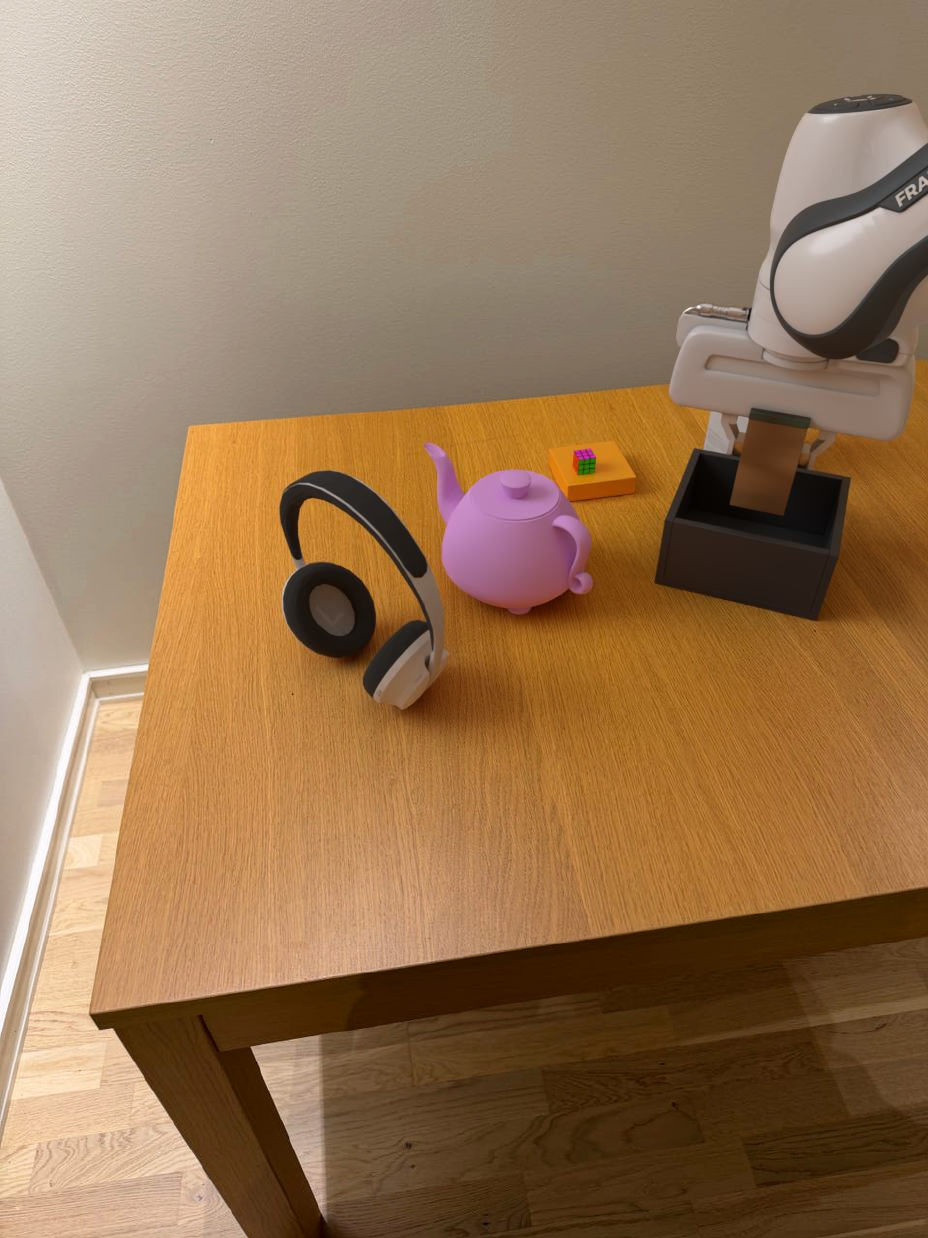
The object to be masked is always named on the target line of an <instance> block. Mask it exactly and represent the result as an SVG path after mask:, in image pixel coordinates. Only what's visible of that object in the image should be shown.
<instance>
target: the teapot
mask: <svg viewBox="0 0 928 1238" xmlns="http://www.w3.org/2000/svg"><path fill="white" fill-rule="evenodd" d="M423 447H424V449H425V450H426V451H425V452H427V453H428V455H429V456H430V458H431V459H432V461H433V463H434V466H435V471H436V475H437V478H436V479H437V489H436V490H437V491H436V492H437V493H436V494H437V495H436V497H437V499H436V500H437V509H438V510H439V514H440V516H441V518H442V520H443V522H444V524H445V525H446V527H445V530H444V533H443V537H442V538H443V539H442V544H441V562H442V566H443V568H444V571H445V573H446V575H447V576H448V578H449V579H450V581H451V582H452V583H453V584H454V585H455V586H456V587H457V588H459V589H460V590H462V591H463V592H464V593H466V594H467V595H469V596H470V597H472V598H473V599H475V600H477V601H479V602H482V603H484V604H487V605H490V606H493V607H497V608H504V609H507V610H508V612H510V613H511V614H514V615H524V614H527V613H529V612H530V611H531V609H532V608H533V607H537V606H540V605H543V604H546V603H548V602H550V601H552V600H554V599H556V598H557V597H559V596H561V595H563V594H564V593H565V592H567V591H568V590H570V591H571V593H573V594H576V595H585V594H588V593H589V592H590V591H591V590H592V589H593V586H594V579H593V577H592V576H591V574H589V573H588V572H586V571H584V570H585V568H586V565H587V561H588V559H589V557H590V553H591V551H592V536H591V533H590V531H589V529H588V528H587V526H586V525H584V523H583V522H582V521H581V519H580V516H579V515H578V513H577V511H576V509H575V508H574V507H573V505H572V503H571V501H570V502H569V500H568V499H567V497H566V496H565V495H564V493H563V492H562V491H561V489H560V487H559V485H558V484H556V483H555V482H554V481H553V480H552V479H550V478H549V477H546V476H545V475H543V474H540V473H538V472H535V471H531V470H527V469H526V470H524V469H505V470H499V471H494V472H492V473H490V474H488V475H485V476H483V477H482V478H479V480H477V481H476V482H475V483H474V484H473V485H472V486H471V487H470V488H469V489H468V490H467V492H466V493H465V491H464V490H463V489H462V488H461V485H460V484H459V481H458V478H457V474H456V471H455V468H454V464H453V462H452V460H451V459H450V456H449V455H448V454H447V453H446V451H445V450H443V449H442V448H441V447H439V446H438V445H436V444H434V443H432V442H427V441H426V442H424V444H423Z"/></svg>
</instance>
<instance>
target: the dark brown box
mask: <svg viewBox="0 0 928 1238" xmlns="http://www.w3.org/2000/svg"><path fill="white" fill-rule="evenodd" d="M739 461H740V457H737V456H731V455H726V454H724V453H718V452H713V451H707V450H703V449H702V448H697V447H694V448H693V449H692V452H691V454H690V457H689V459H688V462H687V464H686V467H685V469H684V472H683V474H682V477H681V479H680V482H679V483H678V487H677V489H676V491H675V494H674V496H673V499H672V501H671V503H670V506H669V508H668V510H667V514H666V516H665V519H664V522H663V529H662V534H661V542H660V547H659V553H658V560H657V564H656V571H655V577H654V584H657V585H661V586H665V587H670V588H674V589H678V590H682V591H686V592H691V593H695V594H699V595H704V596H708V597H712V598H717V599H720V600H725V601H729V602H733V603H739V604H743V605H747V606H751V607H755V608H759V609H764V610H768V611H772V612H777V613H781V614H785V615H789V616H794V617H798V618H803V619H807V620H811V621H815V622H817V621H818V619H819V616H820V614H821V609H822V607H823V604H824V601H825V598H826V595H827V592H828V590H829V587H830V583H831V580H832V578H833V575H834V572H835V569H836V566H837V563H838V560H839V557H840V551H841V545H842V539H843V532H844V526H845V518H846V513H847V506H848V501H849V494H850V488H851V487H850V486H851V481H852V478H851V476H845V475H841V474H835V473H831V472H826V471H819V470H814V469H813V470H807V469H801V468H797V469H796V473H795V476H794V480H793V484H792V487H791V491H790V494H789V498H788V502H787V505H786V509H785V513H784V516H782V515H777V514H772V513H767V512H762V511H757V510H752V509H747V508H742V507H738V506H733V505H730V501H731V497H732V492H733V488H734V483H735V479H736V474H737V470H738V465H739Z"/></svg>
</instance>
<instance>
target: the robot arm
mask: <svg viewBox="0 0 928 1238" xmlns="http://www.w3.org/2000/svg"><path fill="white" fill-rule="evenodd" d="M774 194H775V195H774V198H773V203H772V207H771V212H770V216H769V217H770V218H769V231H770V232H769V233H770V239H769V240H770V241H769V248H768V251H767V254H766V256H765V257H764V259H763V262H762V264H761V266H760V268H759V272H758V276H757V281H756V286H755V291H754V295H753V300H752V304H751V307H747V306H737V305H723V304H715V303H713V302H709V301H699V302H697V305H691V306H688V307H687V308H685V309H683V311H682V312H680V314H679V316H678V318H677V321H676V328H675V334H674V335H675V342H676V345H677V346H678V347H679V349H680V350H679V352H678V355H677V357H676V360H675V364H674V367H673V370H672V374H671V377H670V383H669V387H668V395H669V397H670V399H671V401H672V402H673V404H674V405H676V406H680V407H685V408H691V409H697V410H703V411H708V412H711V411H713V412H719V413H722V416H721V422H720V423H721V425H722V427H723V429H724V432H725V434H726V436H727V439H728V440H729V443H728V448H727V453H726V455H731V456H737V457H740V456H741V452H742V447H743V443H744V439H745V434H746V433H743V432H739V429H738V426H737V423H736V422H737V419H738V416H742V417H748V418H749V413H750V410H751V408H758V409H764V410H769V411H775V412H781V413H787V414H793V415H799V416H805V417H810V418H811V421H810V424H809V428H808V429H812V430H818V431H819V433H818V438H816V440H814V441H812V443H811V444H809V443H804V444H803V447H802V451H801V455H800V458H799V462H798V466H797V468H801V469H807V470H814V467H815V463H816V460H817V457H819V456H820V455H821V454H823V453H824V452H825V451H826V450H827V449H829V447H831V446H832V445H833V444H834V443H835V440H836V437H837V434H839V435H840V434H841V435H847V436H852V437H857V438H863V439H869V440H876V441H879V442H881V441H882V442H886V443H887V442H888V443H890V442H893V441H894V440H896V439H898V438H899V437H901V436H902V435H904V433H905V431H906V427H907V424H908V421H909V417H910V413H911V408H912V403H913V396H914V389H915V382H916V381H915V380H916V357H915V351H916V349H917V345H918V343H919V335H920V331H919V330H920V329H919V327H921V326H924V325H926V324H928V126H927V124H926V123H925V121H924V119H923V116H922V114H921V111H920V108H919V105H918V104H917V103H916V102H915V101H914V100H912V99H911V98H909V97H906V96H903V95H901V94H893V93H871V94H870V93H869V94H862V95H859V96H857V95H855V96H846V97H845V96H844V97H839V98H835V99H831V100H828V101H823V102H821V103H818V104H816V105H814V106H813V107H812V108H811V109H809V110H808V111H806V112H805V113H804V115H803V116H802V117H801V118H800V121H799V122H798V124H797V126H796V128H795V130H794V132H793V134H792V137H791V139H790V141H789V144H788V146H787V149H786V153H785V156H784V159H783V162H782V166H781V170H780V173H779V177H778V181H777V185H776V189H775V193H774Z"/></svg>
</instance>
